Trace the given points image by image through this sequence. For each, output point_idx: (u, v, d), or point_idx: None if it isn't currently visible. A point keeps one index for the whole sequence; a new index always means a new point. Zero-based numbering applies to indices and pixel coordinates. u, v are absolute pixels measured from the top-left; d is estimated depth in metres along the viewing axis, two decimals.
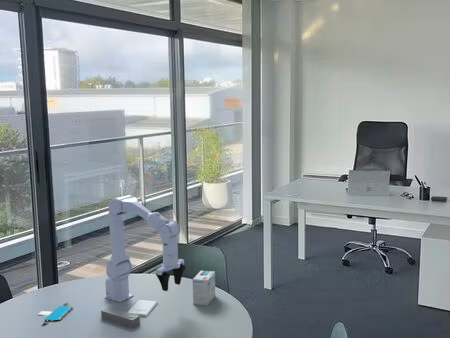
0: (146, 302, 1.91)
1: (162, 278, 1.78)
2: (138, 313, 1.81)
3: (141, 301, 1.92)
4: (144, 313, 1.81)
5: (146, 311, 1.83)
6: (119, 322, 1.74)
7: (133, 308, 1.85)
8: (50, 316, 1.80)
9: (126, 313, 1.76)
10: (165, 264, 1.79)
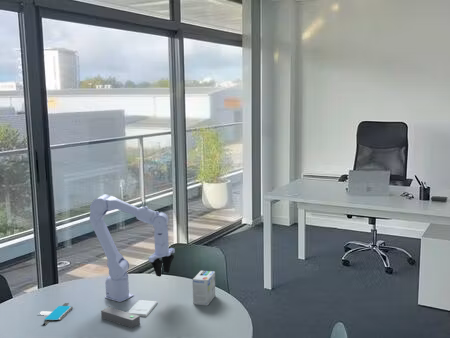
0: (146, 302, 1.91)
1: (156, 264, 1.93)
2: (138, 313, 1.81)
3: (141, 301, 1.92)
4: (144, 313, 1.81)
5: (146, 311, 1.83)
6: (119, 322, 1.74)
7: (133, 308, 1.85)
8: (50, 316, 1.80)
9: (126, 313, 1.76)
10: (156, 252, 1.93)
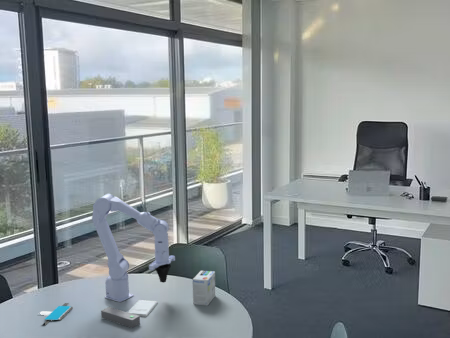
0: (146, 302, 1.91)
1: (160, 270, 1.96)
2: (138, 313, 1.81)
3: (141, 301, 1.92)
4: (144, 313, 1.81)
5: (146, 311, 1.83)
6: (119, 322, 1.74)
7: (133, 308, 1.85)
8: (50, 316, 1.80)
9: (126, 313, 1.76)
10: (157, 260, 1.93)
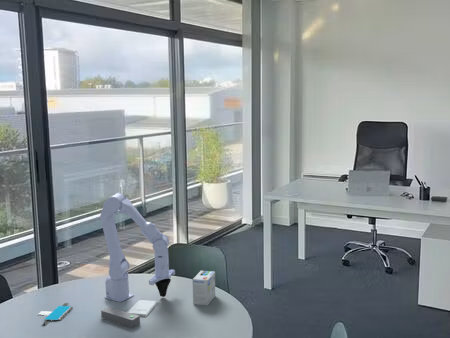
0: (146, 302, 1.91)
1: (160, 285, 1.96)
2: (138, 313, 1.81)
3: (141, 301, 1.92)
4: (144, 313, 1.81)
5: (146, 311, 1.83)
6: (119, 322, 1.74)
7: (133, 308, 1.85)
8: (50, 316, 1.80)
9: (126, 313, 1.76)
10: (157, 275, 1.94)
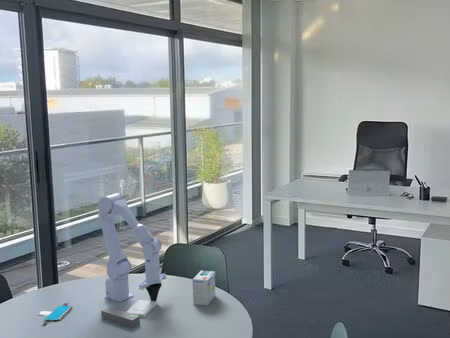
0: (145, 302, 1.90)
1: (150, 289, 1.91)
2: (136, 313, 1.80)
3: (140, 301, 1.91)
4: (142, 313, 1.80)
5: (144, 311, 1.82)
6: (119, 322, 1.74)
7: (132, 308, 1.85)
8: (50, 316, 1.80)
9: (126, 313, 1.76)
10: (147, 279, 1.89)
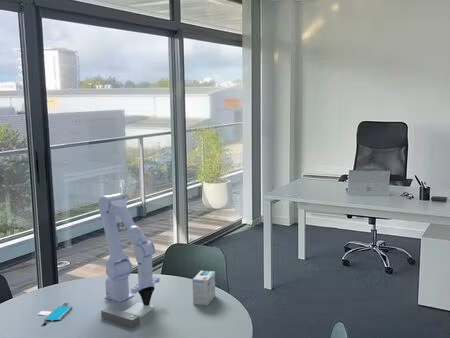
0: (143, 305, 1.88)
1: (143, 293, 1.88)
2: None
3: (139, 304, 1.89)
4: None
5: None
6: (119, 322, 1.74)
7: (127, 310, 1.84)
8: (50, 316, 1.80)
9: (126, 313, 1.76)
10: (140, 283, 1.85)
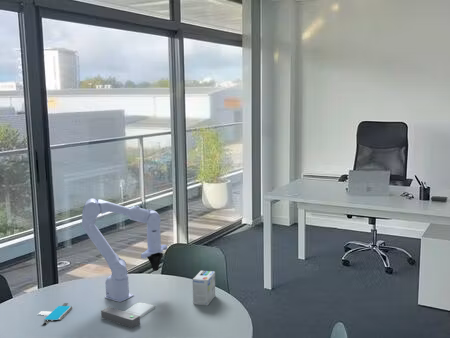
0: (143, 305, 1.88)
1: (152, 259, 2.00)
2: None
3: (139, 303, 1.90)
4: None
5: None
6: (119, 322, 1.74)
7: (127, 310, 1.84)
8: (50, 316, 1.80)
9: (126, 313, 1.76)
10: (149, 249, 1.98)
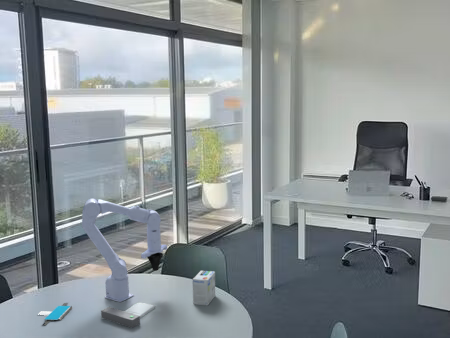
0: (143, 305, 1.88)
1: (152, 259, 2.00)
2: None
3: (139, 303, 1.90)
4: None
5: (138, 315, 1.79)
6: (119, 322, 1.74)
7: (127, 310, 1.84)
8: (50, 316, 1.80)
9: (126, 313, 1.76)
10: (149, 249, 1.98)
